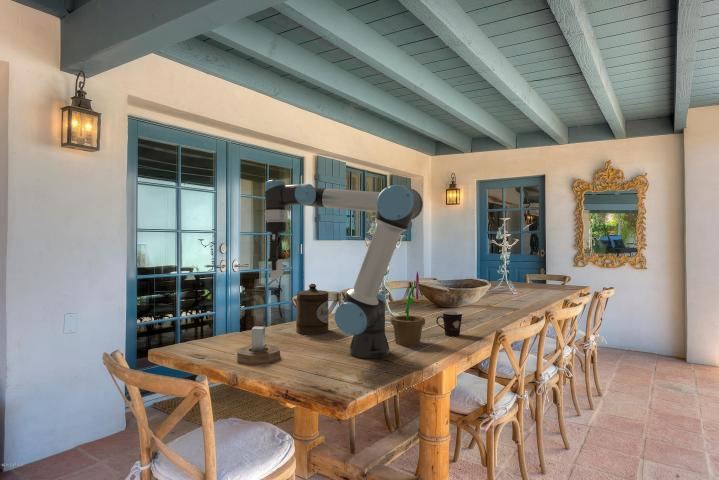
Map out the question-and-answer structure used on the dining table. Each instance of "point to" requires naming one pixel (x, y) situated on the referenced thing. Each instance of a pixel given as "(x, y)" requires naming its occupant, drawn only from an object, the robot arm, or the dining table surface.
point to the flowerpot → (408, 323)
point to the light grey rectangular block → (258, 339)
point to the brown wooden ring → (258, 354)
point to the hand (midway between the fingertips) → (276, 277)
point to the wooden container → (312, 311)
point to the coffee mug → (451, 323)
